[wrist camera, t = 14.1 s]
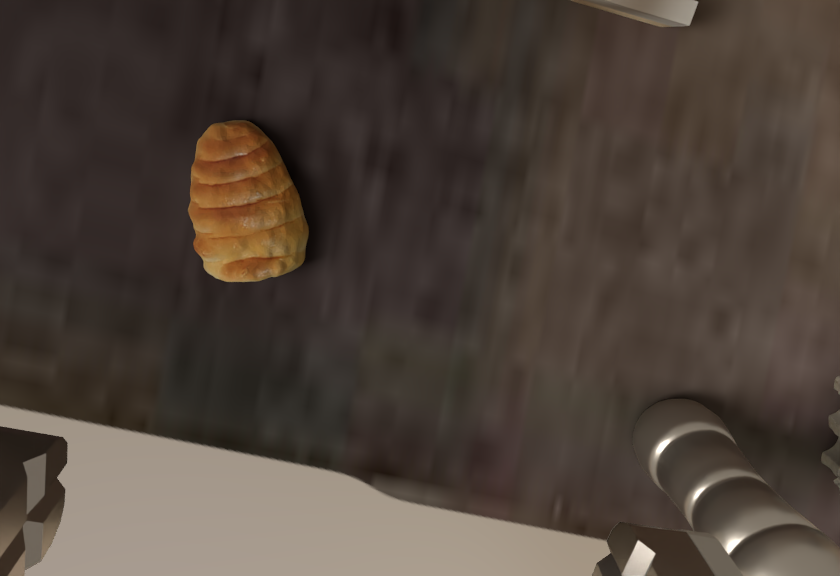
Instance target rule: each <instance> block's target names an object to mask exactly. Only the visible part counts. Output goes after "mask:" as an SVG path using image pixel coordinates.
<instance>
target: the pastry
mask: <svg viewBox="0 0 840 576" xmlns="http://www.w3.org/2000/svg"><path fill="white" fill-rule="evenodd" d="M191 171H192V173H191V182H192V183H191V188H190V196H191V202H190V205H189V209H188V211H189V215H190V218H191V220H192V222H193V224H194V229H195V232H196V238H195V240H194V243H193V245H194V249H195V251H196V252H197V253H198V254H199V255H200V256H201V257H202V259H203V261H204V268H205V270H206V271H207V272H208V273H209V274H210V275H213V276H214V277H215V278H217V279H220V280H223V281H226V282H249V281H261V280H264V279H266V278H269V277H277V276H280V275H283V274H285V273H288V272H291V271H293V270H294V269H296V268H297V267H299V266H301V265H302V263H303V262H304V259H305V249H306V243H307V239H308V235H309V229H308V225H307V222H306V219H305V216H304V213H303V209H302V206H301V201H300V197H299V194H298V192H297V189H296V188H295V186H294V184H293V182H292V180H291V178H290V176H289V174H288V171H287V169H286V167H285V165H284V163H283V161H282V158H281V156H280V154H279V152H278V151H277V149H276V147H275V145H274V143H273V142H272V141H271V140H270V139H269V138H268V137H267V136H266V135H265V134H264V133H263V131H262V130H261V129H260V128H258V127H257V126H256V125H254V124H253V123H251V122H249V121H246V120H233V121H228V122H223V123H215V124H212V125H211V126H210V127H209V128H208V129H207V130H206V132H205V133H204V134H203V136H202V137H201V138H200V139H199V140H198V141H197V148H196V155H195V161H194V163H193V165H192V167H191Z"/></svg>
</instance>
